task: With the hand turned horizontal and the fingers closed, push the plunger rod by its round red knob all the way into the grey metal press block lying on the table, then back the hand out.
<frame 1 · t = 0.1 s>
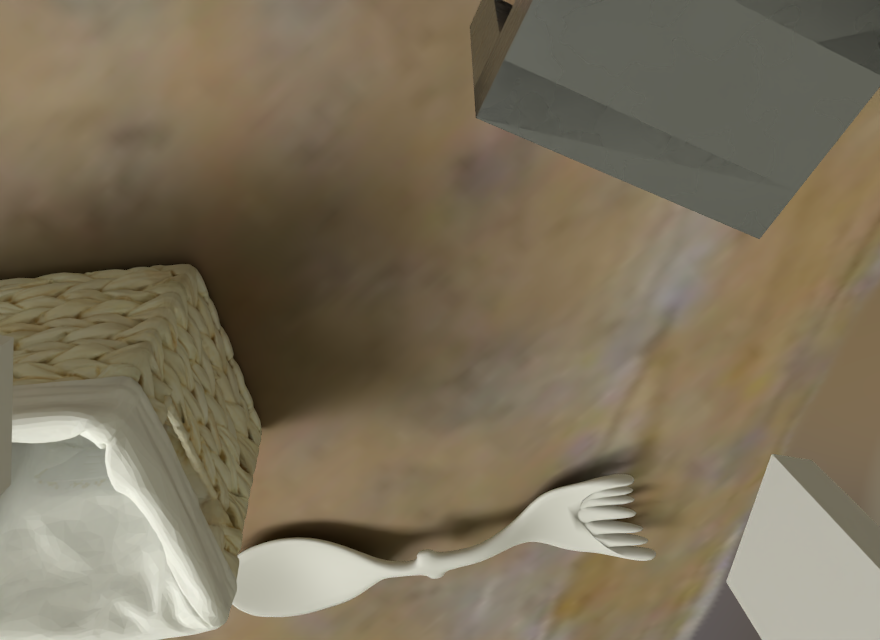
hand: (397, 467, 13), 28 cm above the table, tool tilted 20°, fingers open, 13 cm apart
white plastic spork: (425, 530, 58), on the table
storage basket: (69, 362, 49), on the table
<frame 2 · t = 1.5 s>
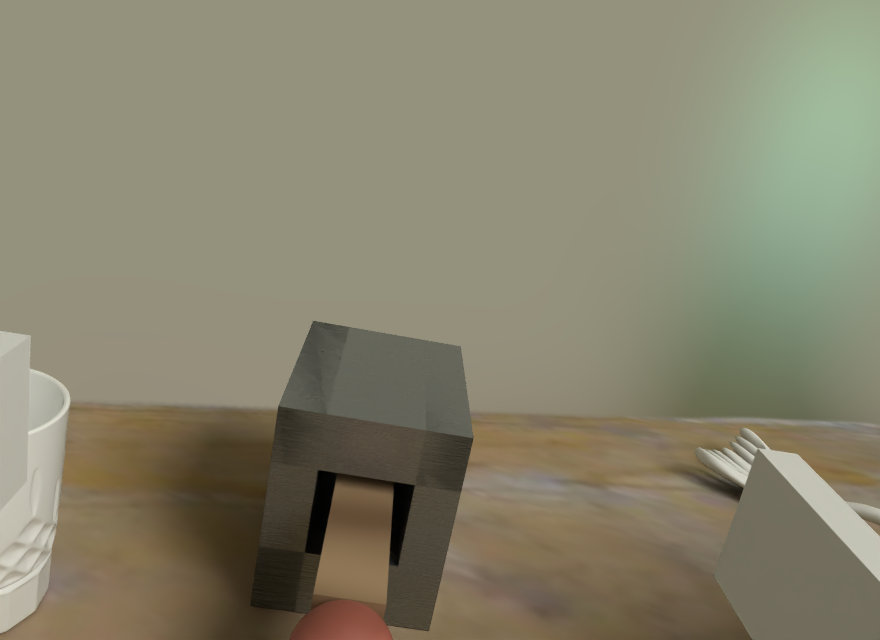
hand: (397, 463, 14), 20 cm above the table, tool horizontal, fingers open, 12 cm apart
press block: (350, 546, 44), on the table
plunger: (351, 575, 33), point 6 cm above the table, slide at 6.0 cm
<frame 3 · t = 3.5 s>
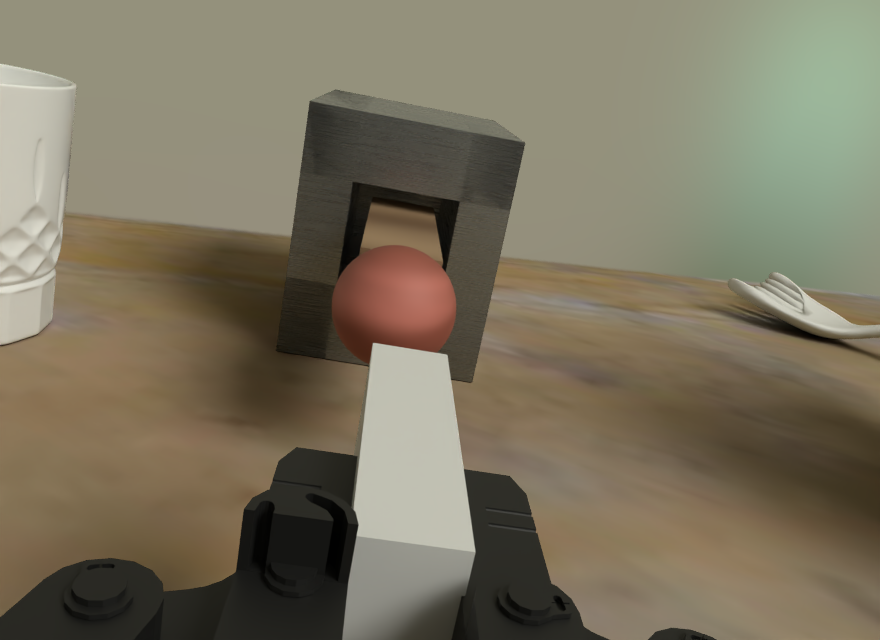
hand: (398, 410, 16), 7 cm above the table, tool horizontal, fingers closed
press block: (379, 323, 41), on the table
plunger: (396, 269, 29), point 6 cm above the table, slide at 6.0 cm
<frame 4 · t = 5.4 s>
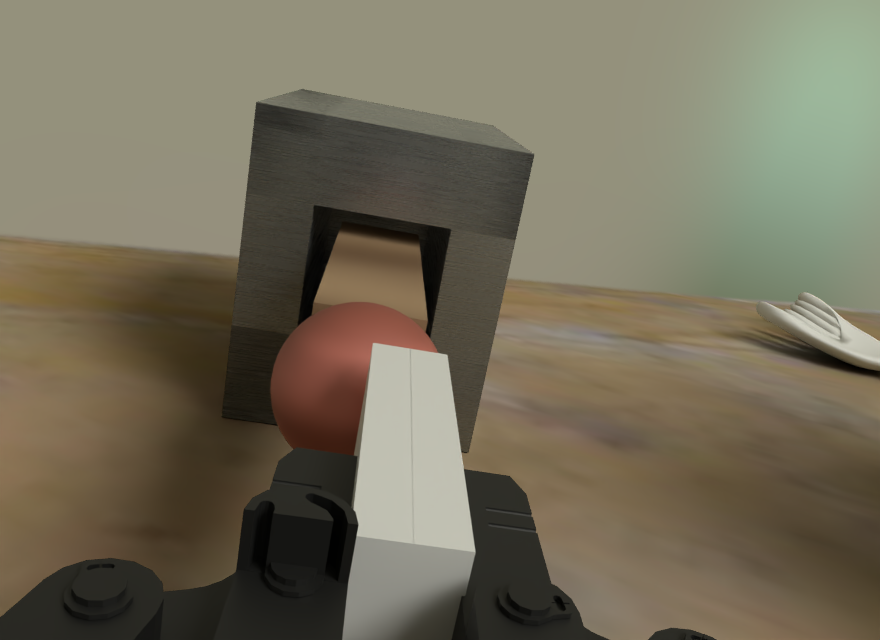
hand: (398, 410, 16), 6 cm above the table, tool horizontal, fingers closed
press block: (356, 372, 34), on the table
plunger: (367, 322, 22), point 6 cm above the table, slide at 5.9 cm, touching gripper
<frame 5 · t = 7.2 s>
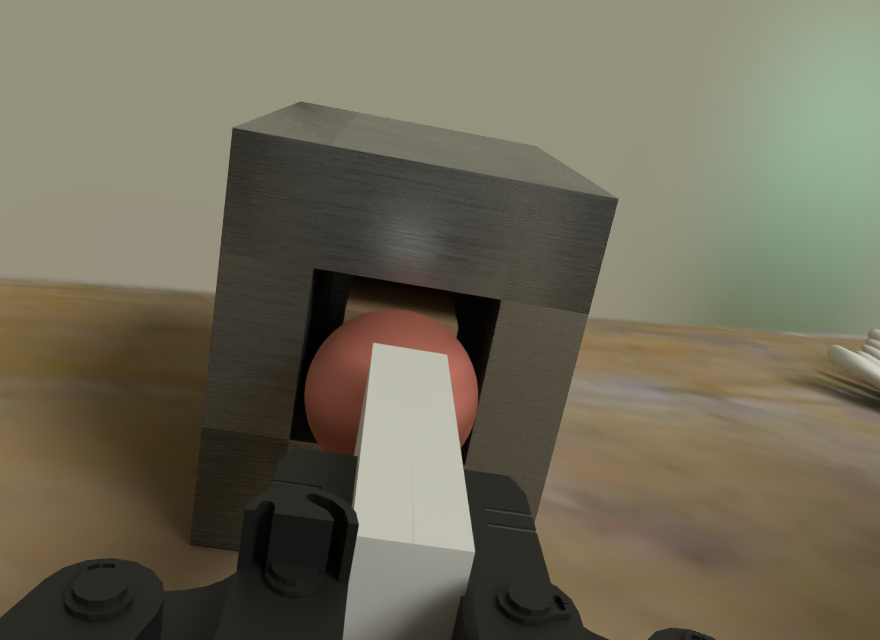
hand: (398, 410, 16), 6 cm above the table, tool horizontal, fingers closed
press block: (367, 458, 27), on the table
plunger: (394, 328, 22), point 6 cm above the table, slide at -1.5 cm, touching gripper
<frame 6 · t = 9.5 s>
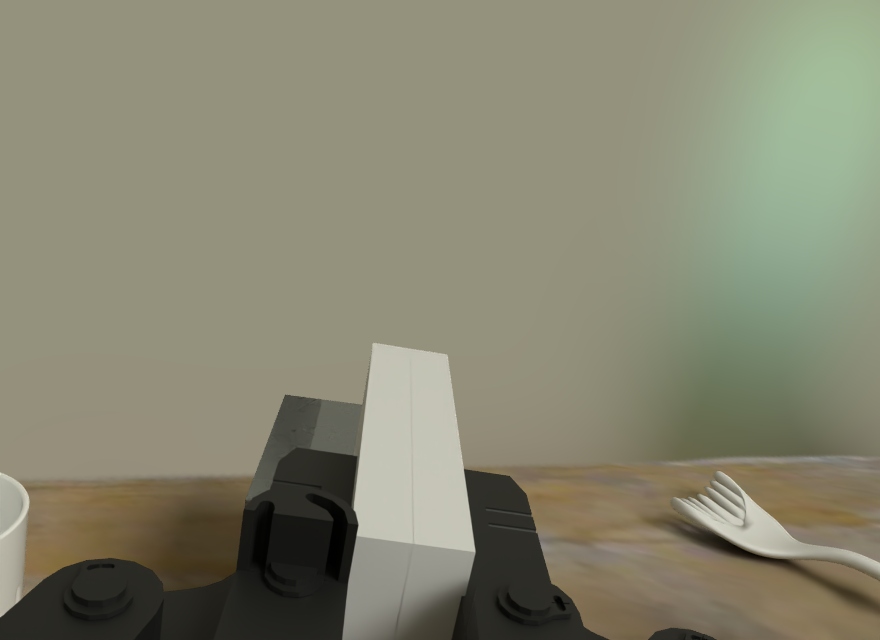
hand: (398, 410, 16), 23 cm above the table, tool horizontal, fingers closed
press block: (330, 627, 43), on the table
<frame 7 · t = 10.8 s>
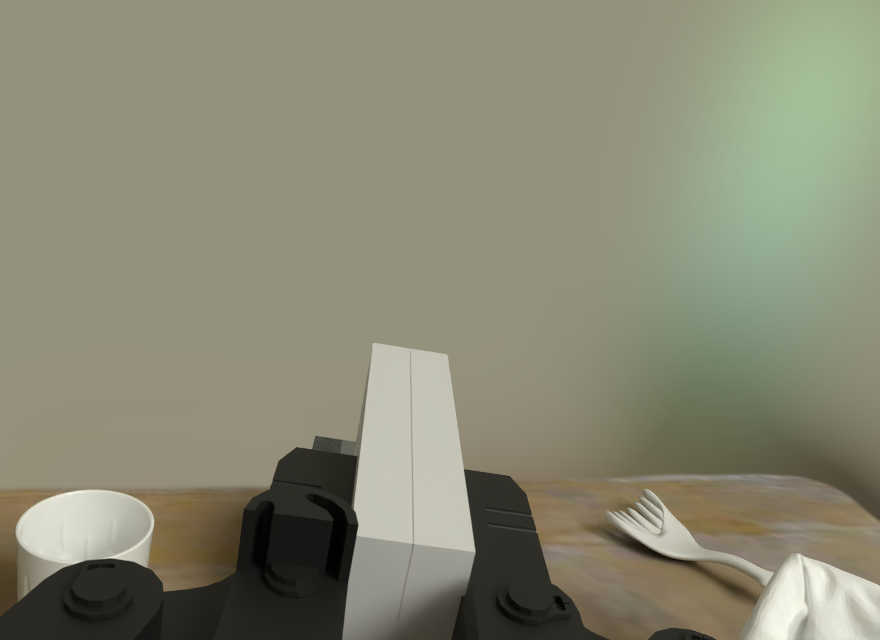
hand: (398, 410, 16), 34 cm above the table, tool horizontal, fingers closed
press block: (345, 604, 61), on the table
white plastic spork: (766, 612, 71), on the table
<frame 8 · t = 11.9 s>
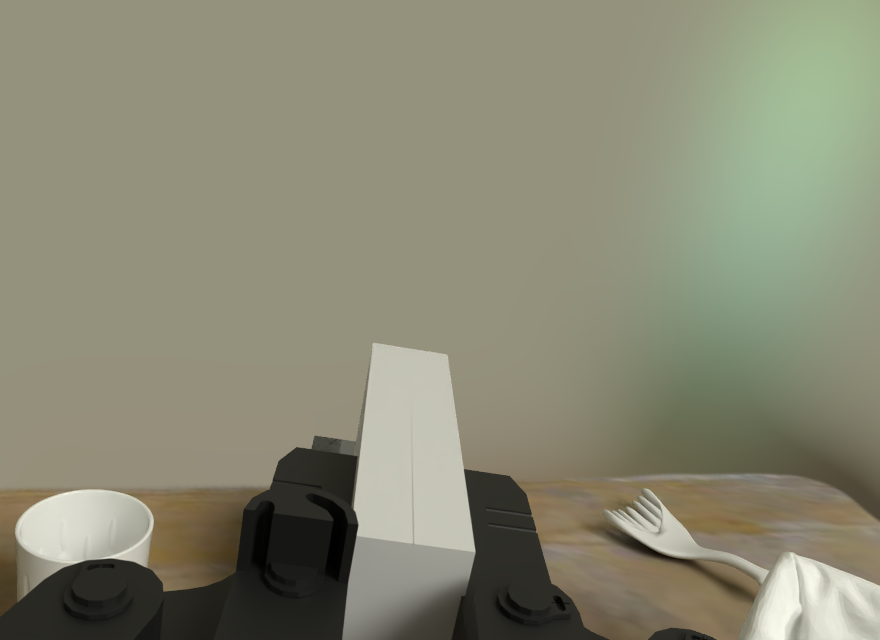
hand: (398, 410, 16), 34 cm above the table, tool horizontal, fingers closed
press block: (344, 603, 61), on the table
white plastic spork: (764, 611, 71), on the table
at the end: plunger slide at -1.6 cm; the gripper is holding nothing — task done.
